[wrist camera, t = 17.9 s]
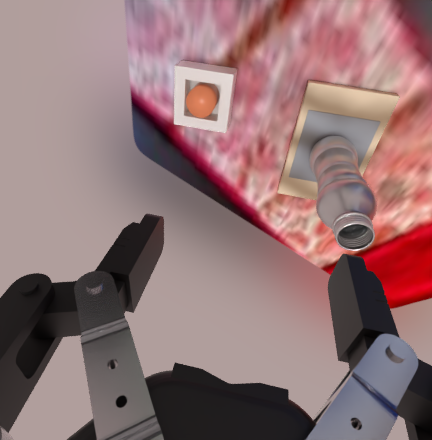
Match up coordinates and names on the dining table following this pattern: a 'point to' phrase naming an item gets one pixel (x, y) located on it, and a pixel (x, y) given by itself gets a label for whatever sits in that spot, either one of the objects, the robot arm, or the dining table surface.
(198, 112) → the button cap
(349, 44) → the dining table surface
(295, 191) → the board
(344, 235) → the plastic bottle
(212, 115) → the button housing
